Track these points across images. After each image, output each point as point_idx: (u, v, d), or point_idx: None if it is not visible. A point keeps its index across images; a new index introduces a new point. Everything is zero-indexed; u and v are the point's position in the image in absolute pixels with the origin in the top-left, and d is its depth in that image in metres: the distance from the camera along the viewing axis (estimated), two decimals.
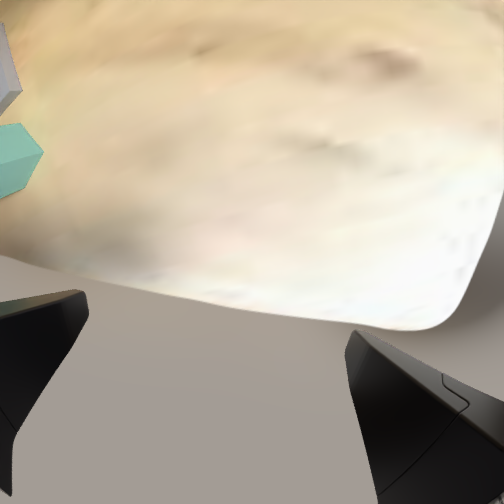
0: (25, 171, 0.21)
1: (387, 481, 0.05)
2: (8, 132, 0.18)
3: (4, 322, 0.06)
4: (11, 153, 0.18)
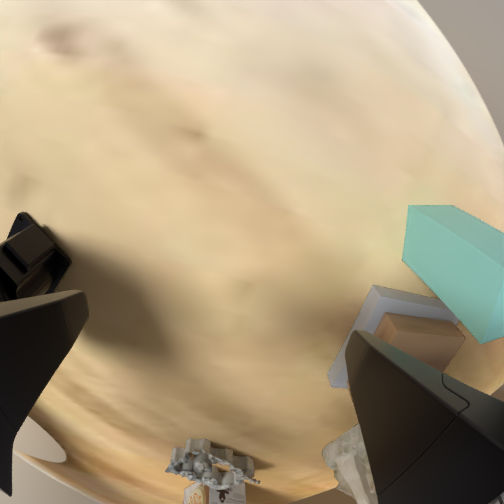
0: (438, 210, 0.20)
1: (387, 481, 0.05)
2: (418, 260, 0.20)
3: (4, 322, 0.06)
4: (434, 232, 0.18)
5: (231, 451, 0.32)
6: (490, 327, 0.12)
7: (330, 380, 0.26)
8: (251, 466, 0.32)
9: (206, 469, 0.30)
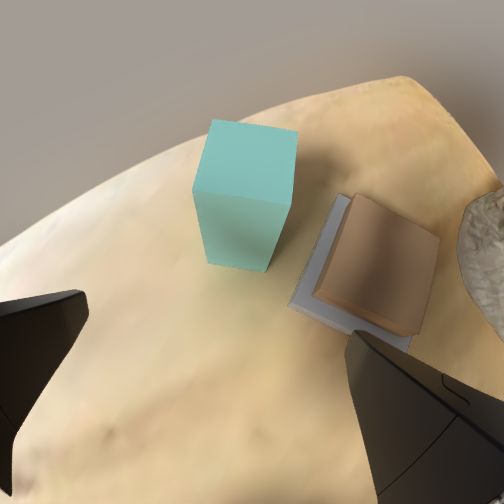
0: None
1: (386, 481, 0.05)
2: (254, 260, 0.22)
3: (4, 322, 0.06)
4: (215, 247, 0.20)
5: None
6: (269, 195, 0.14)
7: None
8: None
9: None
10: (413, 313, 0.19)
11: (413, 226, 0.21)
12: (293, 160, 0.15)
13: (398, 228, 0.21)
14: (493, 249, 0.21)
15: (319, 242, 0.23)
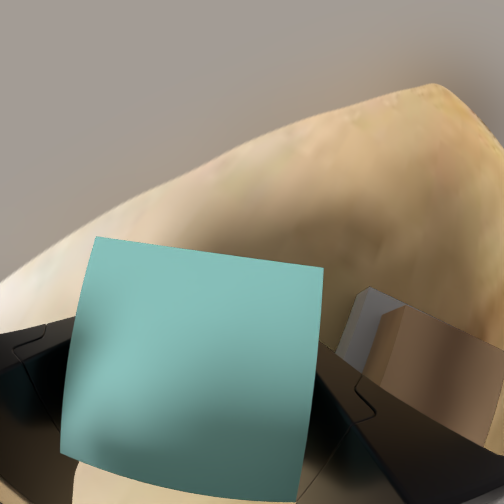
0: None
1: (302, 488, 0.05)
2: None
3: (69, 345, 0.06)
4: None
5: None
6: (239, 483, 0.04)
7: None
8: None
9: None
10: None
11: (479, 345, 0.12)
12: (309, 375, 0.05)
13: (460, 355, 0.12)
14: None
15: None
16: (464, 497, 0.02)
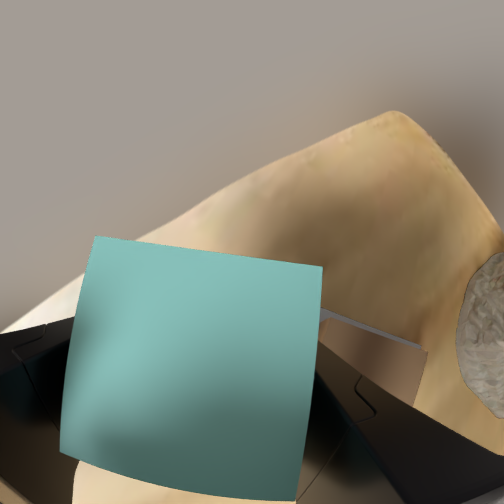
0: None
1: (302, 488, 0.05)
2: None
3: (69, 345, 0.06)
4: None
5: None
6: (238, 482, 0.04)
7: None
8: None
9: None
10: None
11: (397, 345, 0.18)
12: (308, 374, 0.05)
13: (378, 353, 0.18)
14: (494, 346, 0.18)
15: None
16: (464, 497, 0.02)
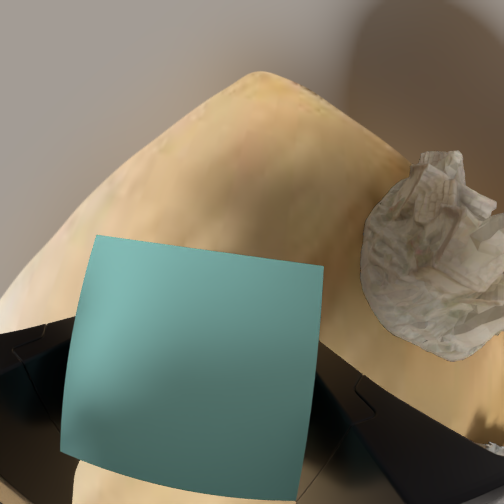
0: None
1: (302, 488, 0.05)
2: None
3: (69, 345, 0.06)
4: None
5: None
6: (240, 481, 0.04)
7: None
8: None
9: None
10: None
11: None
12: (310, 373, 0.05)
13: None
14: (402, 284, 0.19)
15: None
16: (464, 497, 0.02)
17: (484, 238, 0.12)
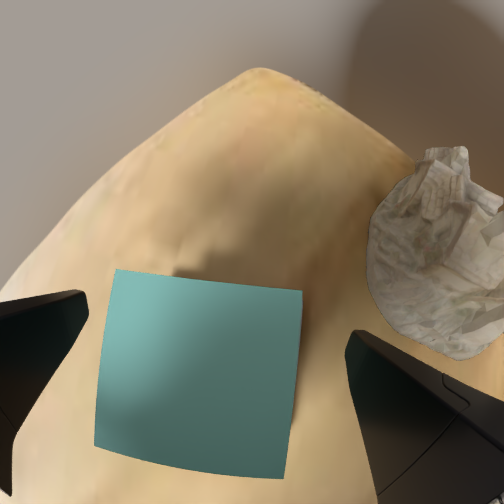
0: None
1: (387, 481, 0.05)
2: None
3: (4, 322, 0.06)
4: None
5: None
6: (238, 463, 0.06)
7: None
8: None
9: None
10: None
11: None
12: (291, 377, 0.06)
13: None
14: (409, 282, 0.19)
15: None
16: None
17: (495, 234, 0.12)
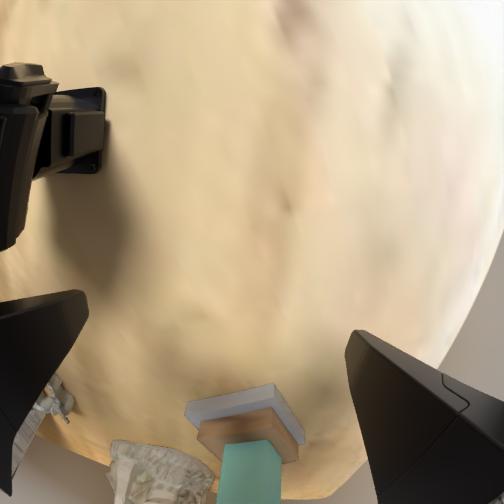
0: (273, 459, 0.25)
1: (386, 481, 0.05)
2: (232, 463, 0.24)
3: (4, 322, 0.06)
4: (257, 473, 0.22)
5: (60, 381, 0.31)
6: None
7: (187, 410, 0.29)
8: (69, 405, 0.31)
9: None
10: (210, 444, 0.27)
11: None
12: None
13: None
14: (179, 481, 0.32)
15: (291, 423, 0.28)
16: None
17: None
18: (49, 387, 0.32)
